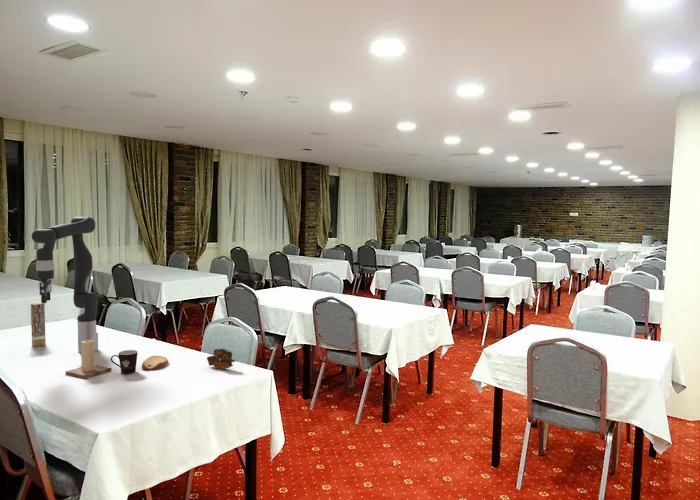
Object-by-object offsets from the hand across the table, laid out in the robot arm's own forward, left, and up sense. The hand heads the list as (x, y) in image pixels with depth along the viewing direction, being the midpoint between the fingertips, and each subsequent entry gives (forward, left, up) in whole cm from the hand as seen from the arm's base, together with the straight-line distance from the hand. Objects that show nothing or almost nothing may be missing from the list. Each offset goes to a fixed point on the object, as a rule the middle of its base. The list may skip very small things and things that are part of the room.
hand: (46, 301), depth 256 cm
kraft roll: (-3, +26, -32) cm, 41 cm away
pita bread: (-28, +43, -34) cm, 61 cm away
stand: (-3, +26, -33) cm, 42 cm away
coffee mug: (-12, +41, -33) cm, 54 cm away
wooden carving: (-38, +78, -33) cm, 93 cm away
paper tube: (-25, -45, -33) cm, 61 cm away
